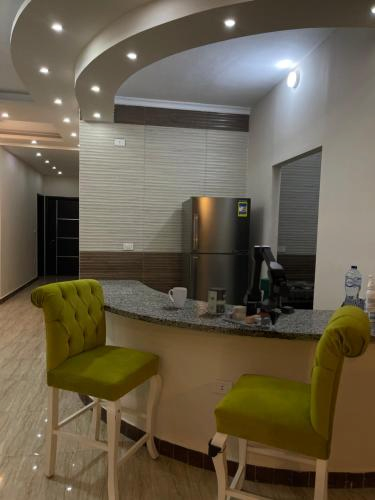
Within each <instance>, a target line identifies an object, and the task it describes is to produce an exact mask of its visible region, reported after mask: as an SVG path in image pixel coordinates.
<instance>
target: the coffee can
mask: <svg viewBox="0 0 375 500" xmlns="http://www.w3.org/2000/svg"><path fill="white" fill-rule="evenodd" d="M227 290H228V289H227V288H226V287H222V286H221V287H219V286H212V287H211V286H209V287H208V298H207V302H208V303H207V313H208V314H210V315H220V316H221V315H225V314H226V305H227V303H226V302H227Z"/></svg>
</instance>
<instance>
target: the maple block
mask: <svg viewBox="0 0 375 500" xmlns="http://www.w3.org/2000/svg"><path fill="white" fill-rule="evenodd" d="M232 312H233V317H232V319H236V320H241V319H245V317H247V316H246V306H243V305H237V306H233V307H232Z"/></svg>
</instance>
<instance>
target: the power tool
mask: <svg viewBox="0 0 375 500" xmlns="http://www.w3.org/2000/svg"><path fill="white" fill-rule="evenodd" d="M288 281H289V280H288V279H287V283H288ZM269 286H270V283H269V278H268V277H266V278H265V277H263V278H260V284H259V289H260V291H261V292H262V291H263V294H262V300H261V301H264V300H266V299H267V296H268V295H269ZM281 307H283V305H282V306H281ZM258 314H259V315H264V316H269V314H268V313H267V312H265V310H263V309H262V308H261V309H259V311H258Z"/></svg>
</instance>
